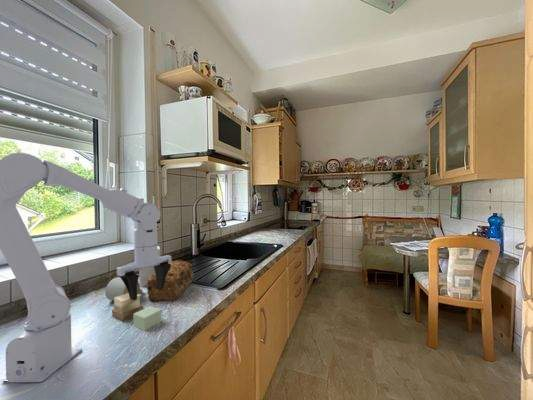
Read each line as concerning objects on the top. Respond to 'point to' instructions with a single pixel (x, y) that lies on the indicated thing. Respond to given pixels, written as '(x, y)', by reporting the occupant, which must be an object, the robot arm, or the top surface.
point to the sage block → (147, 318)
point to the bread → (171, 282)
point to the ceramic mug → (118, 288)
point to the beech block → (126, 303)
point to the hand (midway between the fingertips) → (147, 293)
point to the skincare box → (147, 272)
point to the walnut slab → (125, 314)
